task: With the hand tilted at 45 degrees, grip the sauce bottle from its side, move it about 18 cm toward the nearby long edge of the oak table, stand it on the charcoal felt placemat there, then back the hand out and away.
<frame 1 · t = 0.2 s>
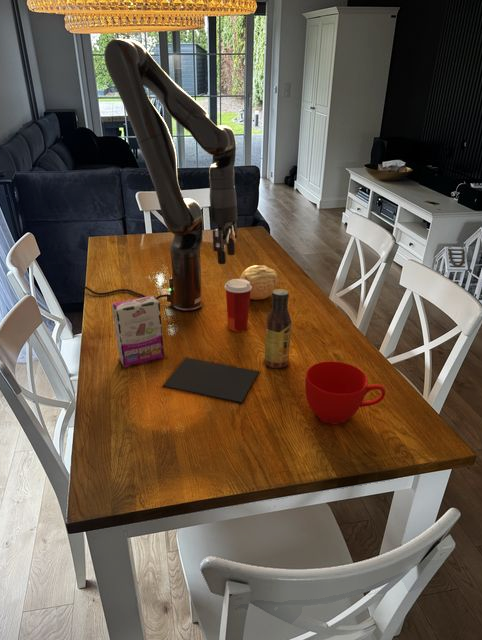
hand: (226, 259, 146), 17 cm above the table, tool pointing down, fingers open, 8 cm apart
placemat: (211, 379, 120), on the table
sculpture: (256, 296, 165), on the table
ceramic cup: (340, 416, 108), on the table
sauce bottle: (276, 363, 128), on the table
paper cup: (237, 327, 145), on the table
candy bar box: (141, 359, 129), on the table
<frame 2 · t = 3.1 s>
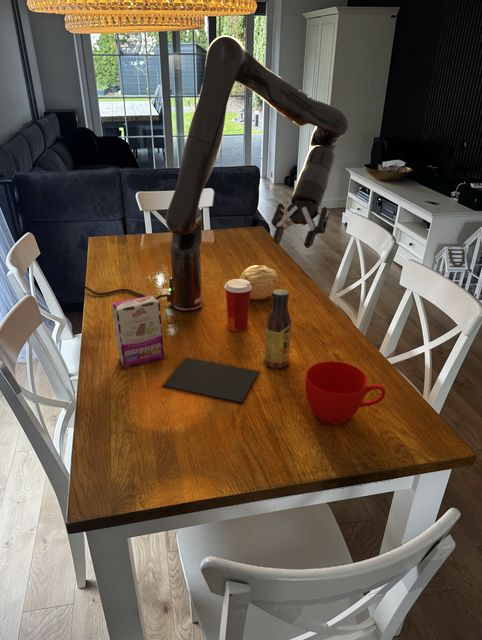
hand: (291, 244, 124), 28 cm above the table, tool tilted 40°, fingers open, 8 cm apart
nothing on the table moved.
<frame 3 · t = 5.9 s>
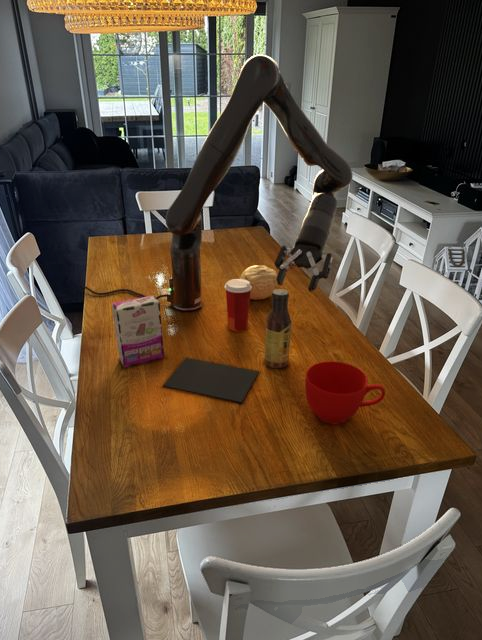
hand: (294, 287, 125), 18 cm above the table, tool tilted 45°, fingers open, 8 cm apart
nothing on the table moved.
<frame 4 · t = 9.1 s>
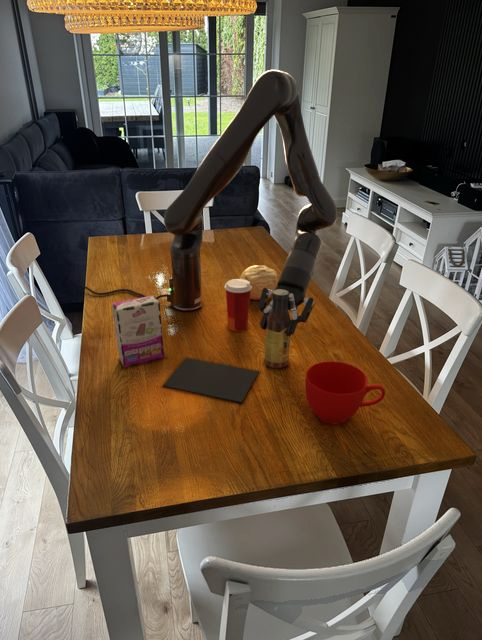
hand: (275, 331, 121), 10 cm above the table, tool tilted 45°, fingers closed on sauce bottle, 6 cm apart
sauce bottle: (276, 363, 128), on the table, touching gripper
everything else where it was.
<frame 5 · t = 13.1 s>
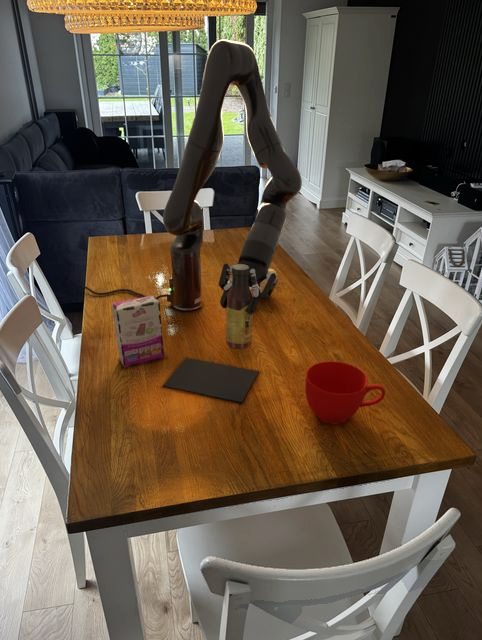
hand: (236, 310, 113), 18 cm above the table, tool tilted 45°, fingers closed on sauce bottle, 6 cm apart
sauce bottle: (238, 345, 119), point 8 cm above the table, touching gripper
everything else where it was.
when the fingers open (10 cm above the table, at t = 17.0 s): sauce bottle stays where it is, resting on placemat.
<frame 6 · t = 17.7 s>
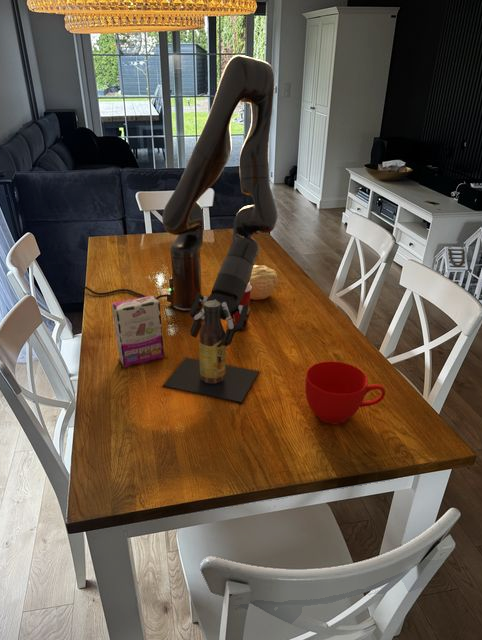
hand: (208, 340, 114), 11 cm above the table, tool tilted 45°, fingers open, 8 cm apart
sauce bottle: (212, 378, 120), resting on placemat
everything else where it was.
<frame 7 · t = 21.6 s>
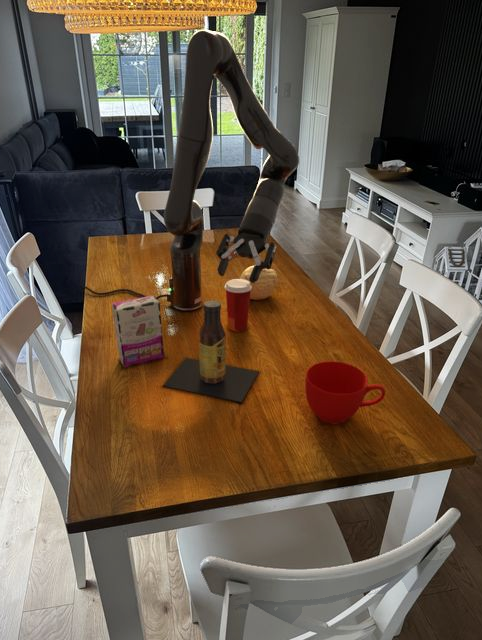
hand: (235, 278, 118), 23 cm above the table, tool tilted 45°, fingers open, 8 cm apart
nothing on the table moved.
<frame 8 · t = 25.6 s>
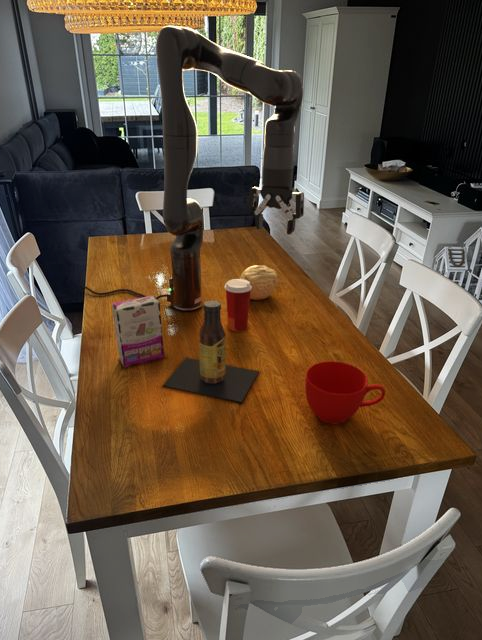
hand: (274, 231, 126), 30 cm above the table, tool pointing down, fingers open, 8 cm apart
nothing on the table moved.
at the end: sauce bottle inside the target area on the placemat (0.3 cm from its centre), point 0.2 cm above the placemat's base; sauce bottle tilted 0°; the gripper is holding nothing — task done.
